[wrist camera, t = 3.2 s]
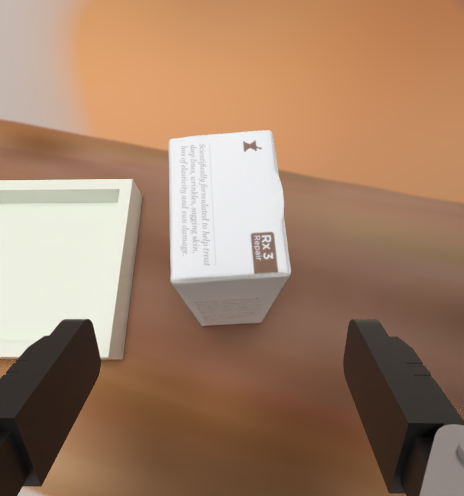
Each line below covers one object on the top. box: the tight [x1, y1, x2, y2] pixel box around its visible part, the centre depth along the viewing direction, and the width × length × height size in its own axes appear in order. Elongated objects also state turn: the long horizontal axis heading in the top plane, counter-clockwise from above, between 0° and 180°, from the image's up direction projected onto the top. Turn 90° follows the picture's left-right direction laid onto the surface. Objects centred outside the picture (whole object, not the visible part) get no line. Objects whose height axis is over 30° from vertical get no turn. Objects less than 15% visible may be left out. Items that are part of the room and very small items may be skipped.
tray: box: [0, 179, 142, 360], centre depth 23 cm, size 14×12×2 cm
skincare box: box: [169, 130, 291, 326], centre depth 17 cm, size 6×4×12 cm
